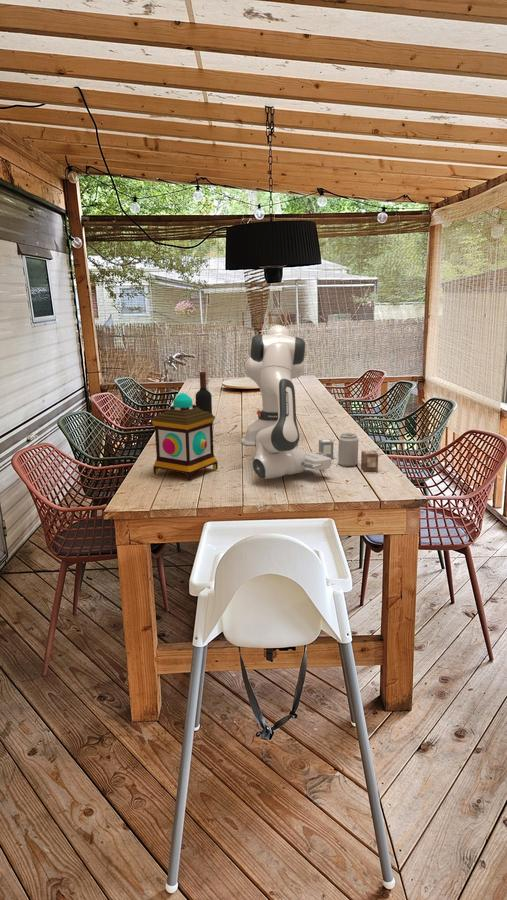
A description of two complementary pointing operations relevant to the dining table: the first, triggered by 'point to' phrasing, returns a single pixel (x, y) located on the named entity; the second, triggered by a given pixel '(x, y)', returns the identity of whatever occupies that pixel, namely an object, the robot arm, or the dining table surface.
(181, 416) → the decorative lantern
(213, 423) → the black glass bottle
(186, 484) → the dining table surface
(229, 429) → the dining table surface
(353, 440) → the can
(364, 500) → the dining table surface
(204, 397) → the wine bottle
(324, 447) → the slate block
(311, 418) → the dining table surface
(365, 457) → the walnut block
